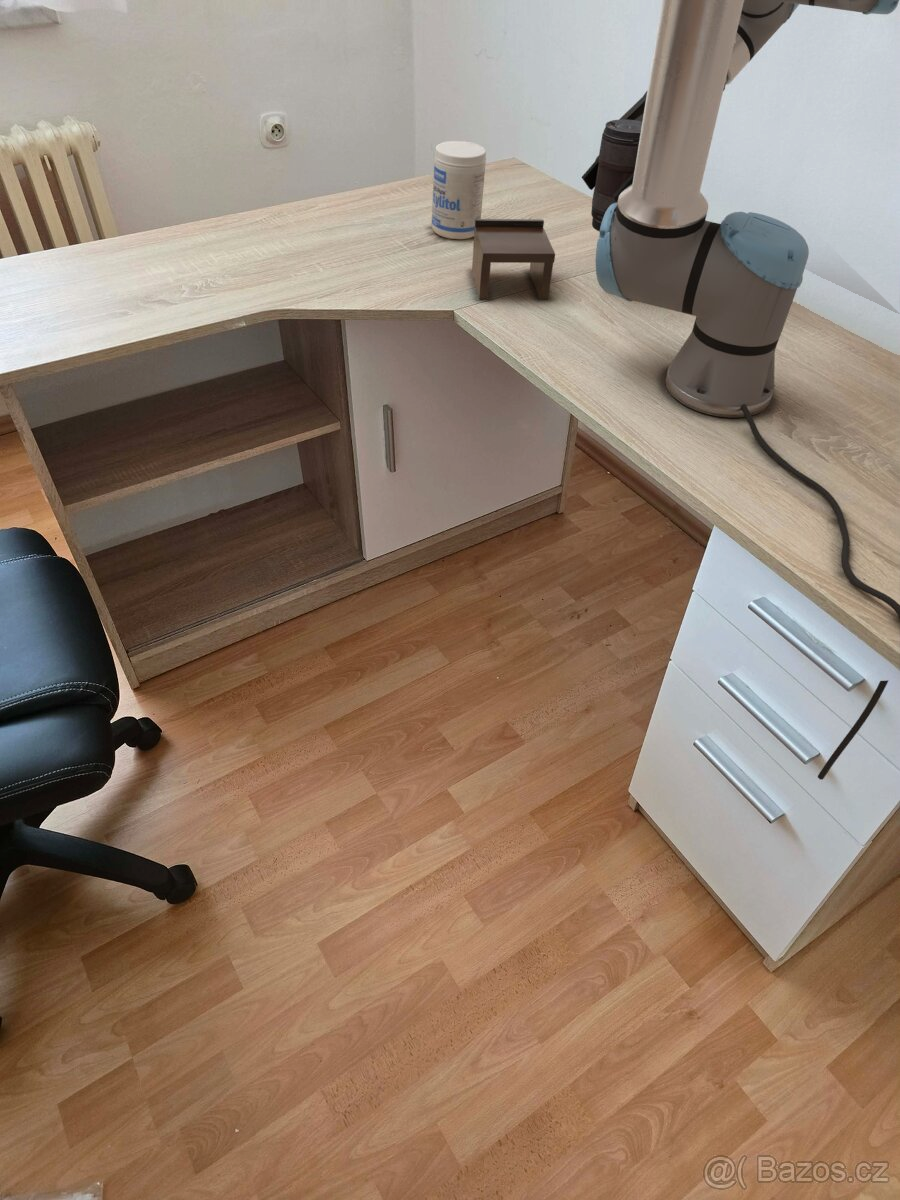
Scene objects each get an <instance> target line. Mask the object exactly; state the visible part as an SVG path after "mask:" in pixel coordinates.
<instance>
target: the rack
mask: <svg viewBox="0 0 900 1200" xmlns="http://www.w3.org/2000/svg"><path fill="white" fill-rule="evenodd" d="M544 225H545V220H544V219H537V218H535V219H531V218H530V219H528V218H527V219H526V218H525V219H524V218H523V219H522V218H521V219H520V218H481V219H475V225H474V236H473V247H472V262H471V263H472V265H471V274H472V277H473V281H474V286H475V289H476V294H477V297H478V300H480V301H481V300H483V301H485V300H489V291H490V289H489V288H490V278H491V277H490V276H491V265H492V263H493V264H494V263H496V264H497V263H501V264H503V263H507V264H509V263H511V264H512V263H514V264H516V263H519V264H521V263H523V264H528V263H529V272H528V273H529V275H530V278H531V279H532V283H533V285H534V288H535V291H536V293H537V296H538V298H539V300H540V301H541V300H544V301H545V300H546V301H548V300H549V298H550V291H551V290H550V289H551V282H552V275H553V267H554V264H555V259H556V252H555V250H554V247H553V246H552V244H551V241H550V239H549V237H548V235H547V232H546V231H545V228H544Z"/></svg>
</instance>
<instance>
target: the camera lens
mask: <svg viewBox="0 0 900 1200" xmlns="http://www.w3.org/2000/svg"><path fill="white" fill-rule="evenodd" d="M641 128H642V121H636V120H619V119H613V120H609V121H607V122H606V123H605V127H604V129H603V132H602V134H601V139H600V147H599V153H598V155H599V165H598V172H597V178H596V184H595V187H594V188H593V194H592V201H591V212H590V215H591V217H592V221H591V226H592V228H593V229H594V230H595V231H597V232H598V233H600V227H601V223H602V220H603V217H604V215H605V213H606V211H607V209H608V208H609V206H610V205H611V204H613V203H616V201H615V200H614V198H613V197H612V196H613V195H614V193H615V192H616V191H617V190H618V189H619V188H620V187H621V185H622V184H623V183H624V182H625V181H626V180H627V179H628V177H629V176H630V175H631V174H632V173H633V172H634V171H635V165H636V159H637V153H638V146H639V140H640V134H641Z"/></svg>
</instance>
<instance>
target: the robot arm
mask: <svg viewBox="0 0 900 1200" xmlns="http://www.w3.org/2000/svg"><path fill="white" fill-rule="evenodd" d="M899 2H900V0H661V5H660V10H659V11H660V12H659V16H658V23H657V29H656V36H655V41H654V47H653V54H652V60H651V67H650V71H649V72H650V74H649V79H648V86H647V90H646V91H645V92H644V94H643V96H641V98H640V99H638V101H636V102H635V103H634V104H633V105H632V107H630V108H629V109H628V110H627V111H626V112H625V113H624V114H623V115H622V116H621V117H620V118H618V120H636V121H642V128H641V134H640V140H639V146H638V153H637V159H636V165H635V171H634V172H633V173H632V174H631V175H630V176H629V177H628V179H627V180H626V181H625V182H624V183H623V184H622V185H621V187H620V188H619V189H618V190H617V191H616V192H615V193H614V195H613V196H612V197H613V198H614V200H615V201H616V203H613V204H611V205H610V206H609V208H608V209H607V211H606V213H605V215H604V217H603V220H602V223H601V227H600V232H599V237H598V238H597V242H596V249H595V274H596V275H595V276H596V279H597V282H598V285H599V286H600V288H601V289H602V290H603V291H604V292H605V293H606V294H608V295H611V296H615V297H619V298H621V299H623V300H624V301H627V302H637V303H641V304H645V305H649V306H653V307H656V308H662V309H666V310H671V311H674V312H677V313H681V314H686V315H691V316H695V320H694V323H693V327H692V330H691V332H690V334H689V335H688V337H687V339H686V340H685V342H684V343H683V345H682V346H681V348H680V349H679V351H678V352H677V353H676V355H675V357H674V358H673V359H672V361H671V363H670V364H669V366H668V369H667V372H666V376H665V387H666V389H667V391H668V392H669V394H670V395H671V396H672V397H673V398H674V399H675V400H676V401H678V403H680V404H682V405H683V406H685V407H688V408H689V409H692V410H694V411H696V412H699V413H703V414H706V415H710V416H714V417H719V418H720V417H721V418H732V419H733V418H734V419H735V418H745V420H746V421H747V423H748V426H749V428H750V431H751V433H752V435H753V437H754V438H755V440H756V441H757V442H758V444H759V445H760V447H761V448H762V449H763V450H764V451H765V453H767V454H768V456H770V457H771V458H772V459H773V460H774V461H775V462H777V464H779V465H780V466H781V467H782V468H784V470H786V471H787V472H788V473H790V474H791V475H793V476H794V477H795V478H797V479H799V480H800V481H802V482H803V483H805V484H806V485H808V486H809V487H812V488H813V489H814V490H816V491H817V492H818V493H819V494H820V495H821V496H823V497H824V499H825V500H826V501H827V502H828V503H829V505H830V506H831V508H832V510H833V511H834V514H835V517H836V520H837V522H838V523H837V524H838V526H839V530H840V535H841V538H842V548H841V556H840V557H841V559H840V560H841V566H842V569H843V572H844V574H845V576H846V578H847V579H848V581H850V583H852V584H853V585H854V586H855V587H856V588H857V589H859V590H861V591H863V592H864V593H867V594H868V595H870V596H872V597H875V598H876V599H878V600H880V601H881V602H883V603H885V604H886V605H888V606H889V607H890V608H891V609H892V610H893V611H894V612H895V613H896V614H897V617H898V619H899V620H900V604H899V603H898V602H897V601H896V600H895V599H894V598H892V597H891V596H889V595H887V594H885V592H882V591H880V590H878V589H876V588H874V587H872V586H869V585H868V584H866V583H865V582H863V581H862V580H860V579H859V578H858V577H857V576H856V575H855V574H854V572H853V570H852V568H851V566H850V561H849V560H850V559H849V554H850V546H851V544H850V543H851V542H850V534H849V531H848V527H847V524H846V523H847V522H846V520H845V516H844V514H843V510H842V509H841V506H840V504H839V503H838V502H837V500H836V499H835V498H834V496H833V495H832V494H831V493H830V492H829V491H828V490H827V489H826V488H824V487H823V486H822V485H821V484H820V483H818V482H817V481H815V480H813V479H812V478H810V477H809V476H807V475H805V474H804V473H802V472H800V471H799V470H797V469H796V468H795V467H793V466H792V465H791V464H790V463H789V462H787V460H785V459H784V458H782V457H781V456H780V455H779V454H778V453H777V452H776V451H775V450H774V449H773V448H772V447H771V446H770V444H768V443H767V442H766V440H765V438H763V436H762V435H761V434H760V432H759V430H758V427H757V425H756V422H755V420H754V418H753V416H754V415H756V414H760V413H762V412H763V411H764V410H765V409H767V407H768V406H769V405H770V402H771V400H772V397H773V395H774V391H775V366H776V365H775V361H776V358H775V357H776V348H777V346H778V343H779V340H780V338H781V335H782V332H783V330H784V327H785V323H786V321H787V319H788V316H789V313H790V309H791V307H792V304H793V301H794V300H795V296H796V293H797V290H798V289H799V288H800V287H801V285H802V283H803V281H804V277H803V276H804V272H805V269H806V265H807V262H808V260H809V254H810V251H809V250H810V249H809V245H808V242H807V240H806V239H805V238H804V236H803V235H802V234H801V233H800V232H798V231H797V230H796V229H795V228H794V227H792V226H791V225H790V224H787V223H786V222H784V221H782V220H779V219H777V218H774V217H771V216H769V215H766V214H762V213H758V212H753V211H749V212H745V211H734V212H731V213H728V214H727V215H726V216H725V217H724V219H723V220H722V221H721V222H720V223H718V222H714V221H709V220H706V219H707V216H708V215H707V214H708V210H709V202H708V200H707V198H706V197H705V195H704V194H703V192H701V188H702V183H703V180H704V176H705V171H706V166H707V162H708V158H709V153H710V148H711V145H712V140H713V136H714V132H715V128H716V123H717V119H718V116H719V115H718V114H719V110H720V106H721V102H722V97H723V93H724V91H725V90H726V86H728V85H730V84H731V83H732V82H734V80H735V79H736V77H737V76H738V75H739V74H740V73H741V72H742V70H743V69H744V68H745V67H746V66H747V65H748V63H750V62H751V61H752V59H753V58H754V57H755V56H756V55H757V53H758V52H759V51H760V50H761V49H762V48H763V47H764V46H765V45H766V43H767V42H768V41H769V40H770V39H771V38H772V37H773V36H774V35H775V33H776V32H778V30H779V29H780V28H781V27H782V26H783V25H784V24H786V23H787V21H788V20H790V18H791V17H792V15H793V14H794V12H795V11H796V10H797V8H798V7H799V6H800V5H804V6H809V7H810V6H811V7H820V8H827V9H834V10H841V11H847V12H848V11H850V12H854V13H855V12H856V13H861V14H862V15H867V16H868V15H870V14H872V15H873V14H874V15H889V14H892V13H893V12H895V10H896V9H897V7H898V5H899ZM598 165H599V154H598V155H597V156H596V157H595V160H594V162H592V164H591V165H590V166H589V168H588V169H587V170H586V171H585V172H584V174H582V176H581V179H582V180H583V182H584V183H585V185H586V186H587V188H588V189H589V190H590V191H593V190H594V188H595V184H596V178H597V172H598ZM888 683H889V680H880V681H879V682H878V685H877V687H876V688H875V690H874V692H873V694H872V696H871V698H870V700H869V701H868V703H867V705H866V706H865V708H864V710H862V712H861V714H860V716H859V717H858V719H857V720H856V721H855V723H854V724H853V726H852V727H851V729H849V731H848V733H847V734H846V735H845V737H844V738H843V739H842V741H840V743H839V745H838V746H837V747H836V749H835V750H834V751H833V752H832V754H831V755H830V756H829V758H828V760H827V761H826V763H825V764H824V766H823V767H822V768H821V770H820V772H819V773H818V774H817V778H818V779H819V780H824V779H825V777H826V776H827V775H828V773H829V771H830V770H831V769H832V767H833V765H834V764H835V763H836V761H837V760H838V759H839V758H840V756H841V755H842V754H843V752H844V750H845V749H846V748H847V747H848V745H849V744H850V743H851V742H852V740H853V739H854V737H855V736H856V735H857V734H858V732H859V731H860V729H861V728H862V726H864V724H865V722H866V721H867V719H868V718H869V716H870V715H871V713H872V712H873V710H874V708H875V707H876V705H877V703H878V702H879V700H880V698H881V697H882V694H883V693H884V692H885V689H886V686H887V685H888Z"/></svg>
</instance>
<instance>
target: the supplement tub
mask: <svg viewBox="0 0 900 1200" xmlns="http://www.w3.org/2000/svg"><path fill="white" fill-rule="evenodd" d="M434 152H435V153H434V157H433V158H434V159H433V178H432V179H433V181H432V199H431V201H432V205H431V229H432V231H433V232H434V233H435V234H437V235H438V236H440V237H443V238H446V239H450V240H454V239H455V240H467V239H471V238H474V225H475V219H482V211H483V210H482V209H483V198H484V187H485V175H486V163H487V158H486V155H487V151H486V148H485V147H483V146H482V145H480V144H477V143H474V142H472V141H464V140H447V141H442V142H440V143H438V144H437V145H436V146H435V151H434Z"/></svg>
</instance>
